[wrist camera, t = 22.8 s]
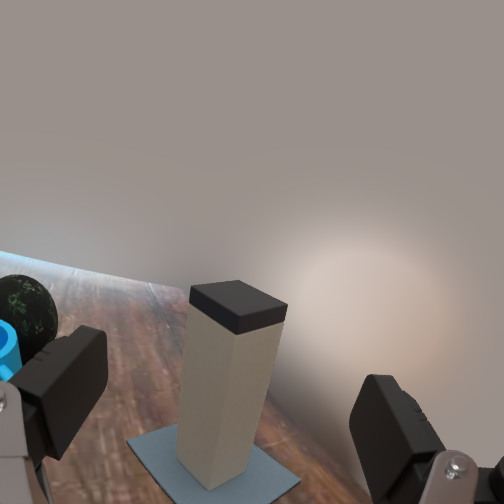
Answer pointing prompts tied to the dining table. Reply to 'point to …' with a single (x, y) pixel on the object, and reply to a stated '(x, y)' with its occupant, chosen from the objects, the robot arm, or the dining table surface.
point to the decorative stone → (28, 313)
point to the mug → (8, 352)
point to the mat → (192, 491)
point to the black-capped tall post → (225, 377)
